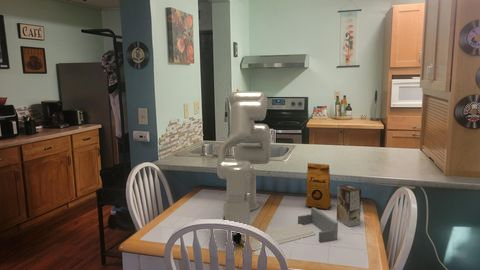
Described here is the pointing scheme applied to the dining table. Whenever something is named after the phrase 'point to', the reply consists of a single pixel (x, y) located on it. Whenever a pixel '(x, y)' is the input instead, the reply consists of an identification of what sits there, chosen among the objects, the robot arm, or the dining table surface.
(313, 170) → the coffee package
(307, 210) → the dining table surface
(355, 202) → the coffee box
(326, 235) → the u-shaped bracket
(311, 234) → the baseboard molding
